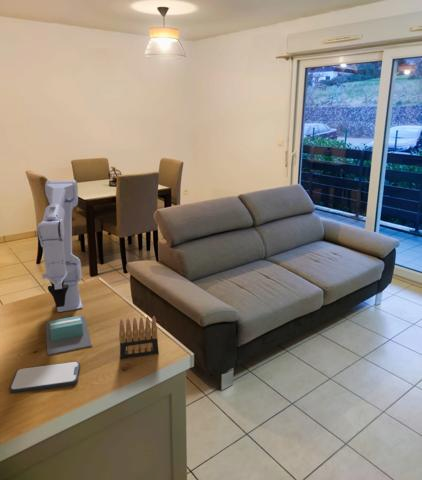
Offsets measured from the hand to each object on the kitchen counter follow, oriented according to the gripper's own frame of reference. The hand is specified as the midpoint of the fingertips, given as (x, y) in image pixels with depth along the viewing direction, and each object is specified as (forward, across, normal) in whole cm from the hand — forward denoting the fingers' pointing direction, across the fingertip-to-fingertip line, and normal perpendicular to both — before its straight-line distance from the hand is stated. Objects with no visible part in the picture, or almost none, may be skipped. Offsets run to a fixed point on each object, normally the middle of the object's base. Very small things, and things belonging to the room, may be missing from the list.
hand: (59, 300), depth 119 cm
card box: (+9, +5, +1) cm, 10 cm away
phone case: (+10, +24, -6) cm, 27 cm away
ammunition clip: (+10, +23, +19) cm, 31 cm away
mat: (+9, +5, +1) cm, 11 cm away
